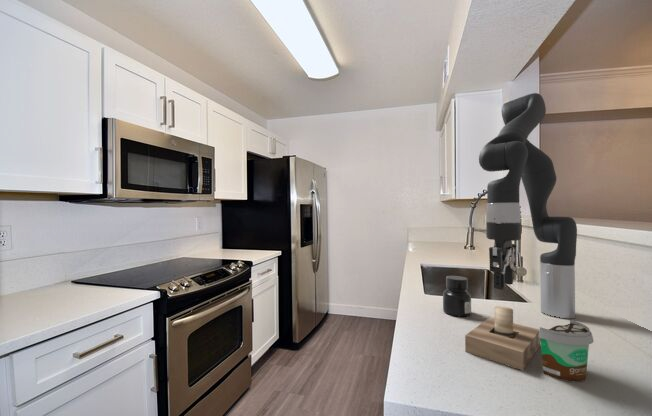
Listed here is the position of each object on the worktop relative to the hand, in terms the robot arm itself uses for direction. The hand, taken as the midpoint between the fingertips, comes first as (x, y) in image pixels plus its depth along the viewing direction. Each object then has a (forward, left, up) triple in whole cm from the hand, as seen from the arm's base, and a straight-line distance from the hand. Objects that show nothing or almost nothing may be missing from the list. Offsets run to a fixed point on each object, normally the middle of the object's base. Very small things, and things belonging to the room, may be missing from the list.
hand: (503, 286), depth 73 cm
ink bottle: (-18, -19, -16) cm, 31 cm away
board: (0, 0, -16) cm, 16 cm away
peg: (0, 0, -16) cm, 16 cm away
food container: (+4, +14, -16) cm, 21 cm away
